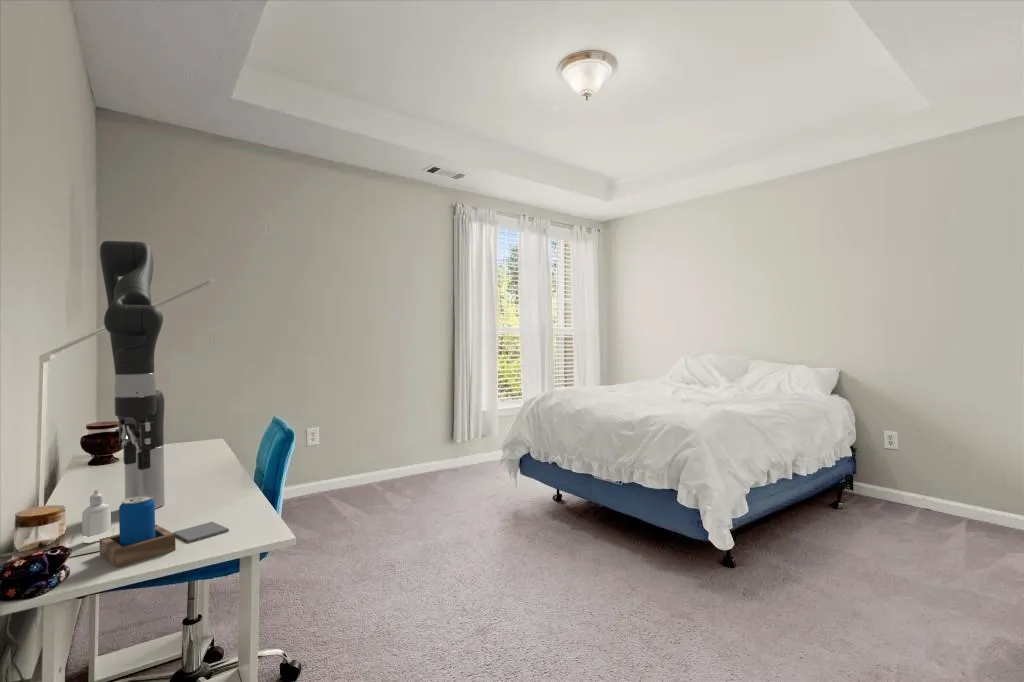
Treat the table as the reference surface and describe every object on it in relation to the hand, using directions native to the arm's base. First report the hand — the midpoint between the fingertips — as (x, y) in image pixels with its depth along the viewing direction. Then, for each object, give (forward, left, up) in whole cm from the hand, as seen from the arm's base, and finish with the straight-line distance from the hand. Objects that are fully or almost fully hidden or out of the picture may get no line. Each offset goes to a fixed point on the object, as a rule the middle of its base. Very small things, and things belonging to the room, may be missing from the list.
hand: (136, 466), depth 117 cm
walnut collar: (0, 0, -19) cm, 19 cm away
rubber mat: (-1, +13, -19) cm, 23 cm away
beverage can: (0, 0, -20) cm, 20 cm away
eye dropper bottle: (-17, -3, -20) cm, 26 cm away
